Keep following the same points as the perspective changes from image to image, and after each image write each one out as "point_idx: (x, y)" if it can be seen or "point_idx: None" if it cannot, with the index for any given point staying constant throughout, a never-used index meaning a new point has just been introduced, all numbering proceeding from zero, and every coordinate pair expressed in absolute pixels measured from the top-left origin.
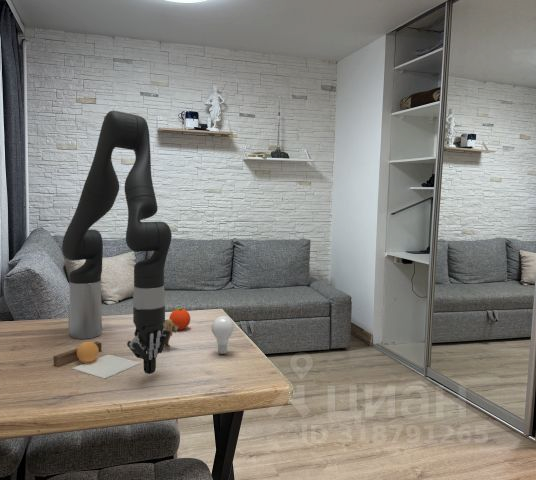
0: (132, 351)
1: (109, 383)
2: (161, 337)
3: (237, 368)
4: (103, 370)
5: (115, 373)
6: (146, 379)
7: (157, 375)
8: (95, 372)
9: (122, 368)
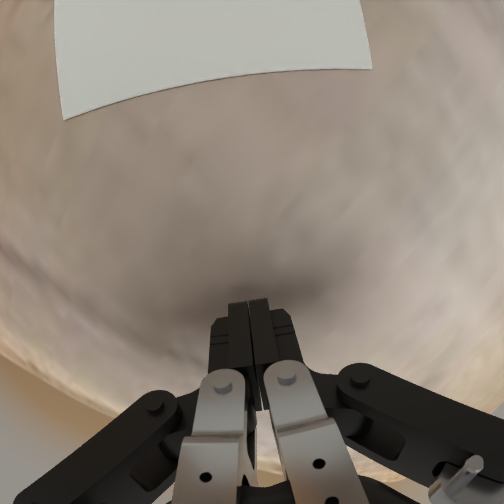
0: (79, 453)
1: (57, 195)
2: (439, 470)
3: (471, 396)
4: (126, 1)
5: (142, 92)
6: (230, 294)
7: (306, 292)
8: (79, 6)
9: (228, 49)
